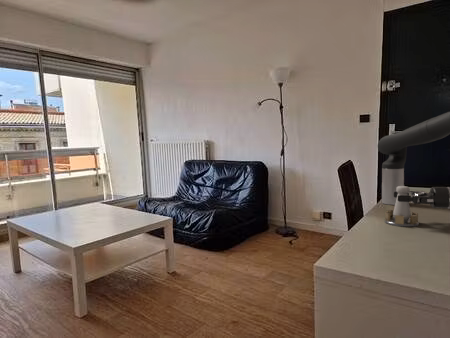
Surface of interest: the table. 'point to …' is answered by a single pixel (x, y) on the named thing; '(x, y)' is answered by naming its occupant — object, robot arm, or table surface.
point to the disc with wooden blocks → (401, 219)
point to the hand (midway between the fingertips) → (395, 196)
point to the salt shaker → (402, 204)
